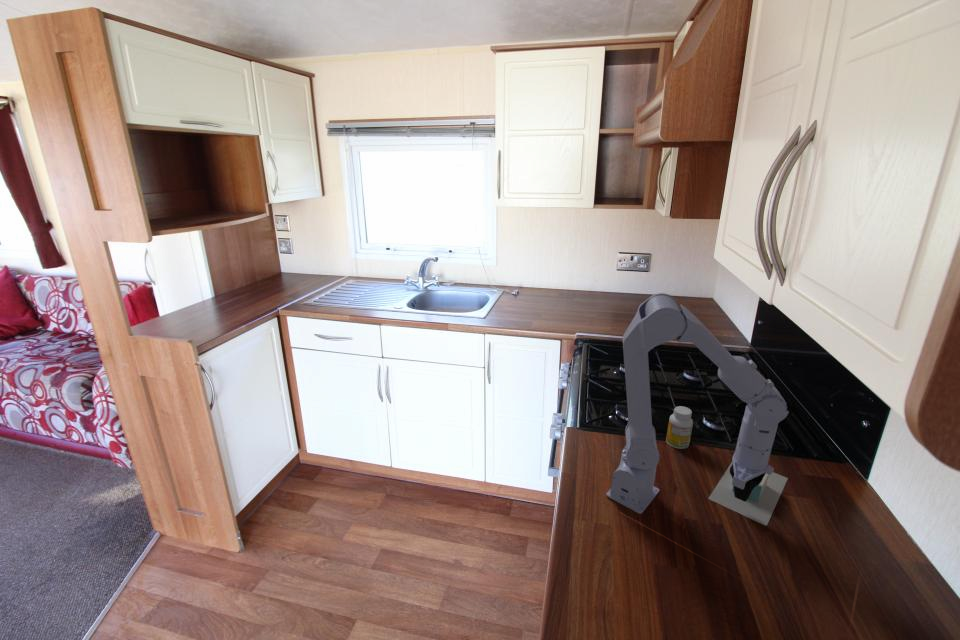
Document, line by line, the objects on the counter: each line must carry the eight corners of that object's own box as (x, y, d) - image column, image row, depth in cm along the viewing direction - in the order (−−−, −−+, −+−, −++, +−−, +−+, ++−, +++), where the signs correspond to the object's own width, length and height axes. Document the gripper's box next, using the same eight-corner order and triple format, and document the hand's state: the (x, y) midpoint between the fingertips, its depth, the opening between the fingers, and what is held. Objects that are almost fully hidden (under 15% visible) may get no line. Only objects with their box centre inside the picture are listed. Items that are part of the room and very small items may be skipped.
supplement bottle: (669, 434, 119) (675, 402, 116) (691, 442, 116) (697, 409, 112) (662, 444, 115) (668, 411, 112) (684, 452, 112) (691, 418, 109)
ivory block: (761, 487, 94) (770, 470, 99) (735, 475, 98) (745, 460, 102) (757, 502, 96) (766, 485, 101) (732, 490, 99) (741, 474, 104)
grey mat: (766, 527, 90) (766, 526, 90) (707, 499, 97) (708, 498, 97) (787, 479, 103) (788, 478, 103) (734, 458, 110) (735, 457, 110)
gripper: (768, 469, 81) (752, 528, 86) (787, 434, 91) (772, 489, 96) (726, 452, 85) (713, 509, 90) (748, 420, 95) (735, 473, 100)
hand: (740, 497), depth 93 cm, fingers closed
